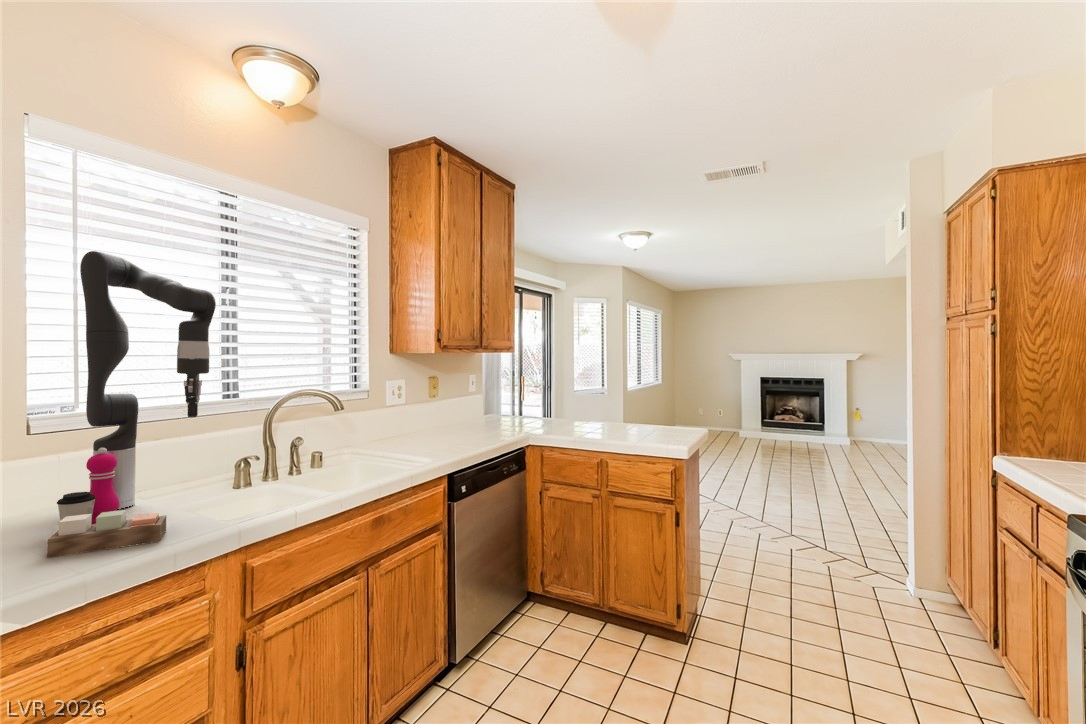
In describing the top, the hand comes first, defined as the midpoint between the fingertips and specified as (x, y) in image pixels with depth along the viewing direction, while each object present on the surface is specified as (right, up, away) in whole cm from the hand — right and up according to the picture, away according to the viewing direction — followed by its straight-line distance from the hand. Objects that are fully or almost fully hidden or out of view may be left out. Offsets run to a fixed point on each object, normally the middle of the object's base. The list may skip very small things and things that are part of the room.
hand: (192, 416), depth 137 cm
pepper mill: (-15, -27, -12) cm, 33 cm away
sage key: (0, -24, -25) cm, 35 cm away
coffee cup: (-14, -27, -20) cm, 36 cm away
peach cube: (+5, -26, -22) cm, 35 cm away
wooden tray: (0, -27, -25) cm, 37 cm away
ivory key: (-6, -24, -29) cm, 38 cm away
